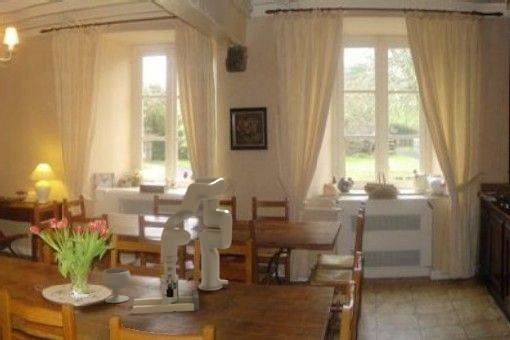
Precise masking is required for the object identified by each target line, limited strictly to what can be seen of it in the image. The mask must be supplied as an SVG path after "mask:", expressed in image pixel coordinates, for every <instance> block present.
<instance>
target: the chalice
mask: <svg viewBox="0 0 510 340" xmlns="http://www.w3.org/2000/svg"><path fill="white" fill-rule="evenodd" d="M131 278H132V277H131V273H130V271H129V269H128V268H126V267H110V268H107V269H105V270H104V271H103V272H102V277H101V283H102V284H103V286H105V287H107V288H108V289H111V290H112V291H113V292H114V295H111V296H110V295H109V296H108V297H109V298H107V297H106V298H107V299H106V300H105V301H104V302H105V303H108V304H119V303H125V302H128V301H129V300H130V297H129V296H127V295H123V294H122V295H120V294H119V292H120V291H121V290H122V289H123V288H124V287H126V286H128V284H130V282H131Z"/></svg>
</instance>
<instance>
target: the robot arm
mask: <svg viewBox="0 0 510 340" xmlns="http://www.w3.org/2000/svg"><path fill="white" fill-rule="evenodd" d="M226 189H227V181H226V180H225V178H223V177H220V176H219V177H218V176H217V177H215V176H199V177H197V178H196V179H195V182H193V183H190V184H189V185H188V186H187V189H186V191H185V193H184V197H183V199H182V202H181V205H180V206H179V208H178V209H177V210H175V211H174V212H173V213H172V214H171V215H170V216H169V217H168V218H167V220H166V222H165V224H164V226H163V229H162V232H161V235H160V243H161V244H160V245H161V249H160V250H161V251H160V254H161V255H160V256H161V263H163V269H164V274H165V282H166V283H167V297H174V293H173V283H176V274H177V273H176V271H177V269H176V263H177V262H178V247H179V246H186V245H188V244H189V243H190V241H191V240H192V237H191V233H190V232H189V231H188V230H186V229H179V228H176V226H177V225H179V224H180V223H181V222H182V221H185V220H187V219H188V220H189V219H190V218H192V217H194V216H196V214H197V212H198V210H199V206H200V204H201V202H202V201H203V207H202V212H203V213H202V214H203V215H202V223H203V225H205V226H207V227H210V228H206V229H203V230H201V232H200V233H199V236H198V238H199V245H200V253H201V258H200V259H201V260H200V261H201V265H200V266H201V283H200V284H199V285H198V289H199V290H202V291H207V292H208V291H209V292H210V291H218V290H221V289H222V288H223V285H228V284H229V280H226V279H221V278H220V254H219V251H218V249H223V250H224V249H228V248H230V246H231V245H232V239H233V216H232V213H231V211H229V210H227V209H220V198H219V196H221V195H222V194H224V193H225V192H226ZM212 228H214V229H212ZM215 228H219V229H215ZM168 276H169V282H168ZM171 281H172V282H171Z"/></svg>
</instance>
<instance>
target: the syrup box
mask: <svg viewBox="0 0 510 340" xmlns="http://www.w3.org/2000/svg"><path fill="white" fill-rule="evenodd" d="M160 276H161V280H160V281H161V285H160V286H161V298H162V304H163V305H164V304H178V303H179V297H180V296H179V274H178V273H176V283H173V293H174V297H167V283H166V282H165V273H164V274H161V275H160ZM168 282H169V276H168ZM171 282H172V281H171Z"/></svg>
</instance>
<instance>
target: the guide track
mask: <svg viewBox="0 0 510 340" xmlns="http://www.w3.org/2000/svg"><path fill="white" fill-rule="evenodd" d="M191 293H192V294H191V295H190V296H187V295H184V296H178V297H179V303H178V304H164V305H163V304H162V297H145V298H134V299H133V306H132V314H137V315H138V314H152V313H153V314H154V313H155V314H156V313H171V312H172V313H173V311H176V312H189V311H199V310H200V296H199V293H198V289H192V291H191Z"/></svg>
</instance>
